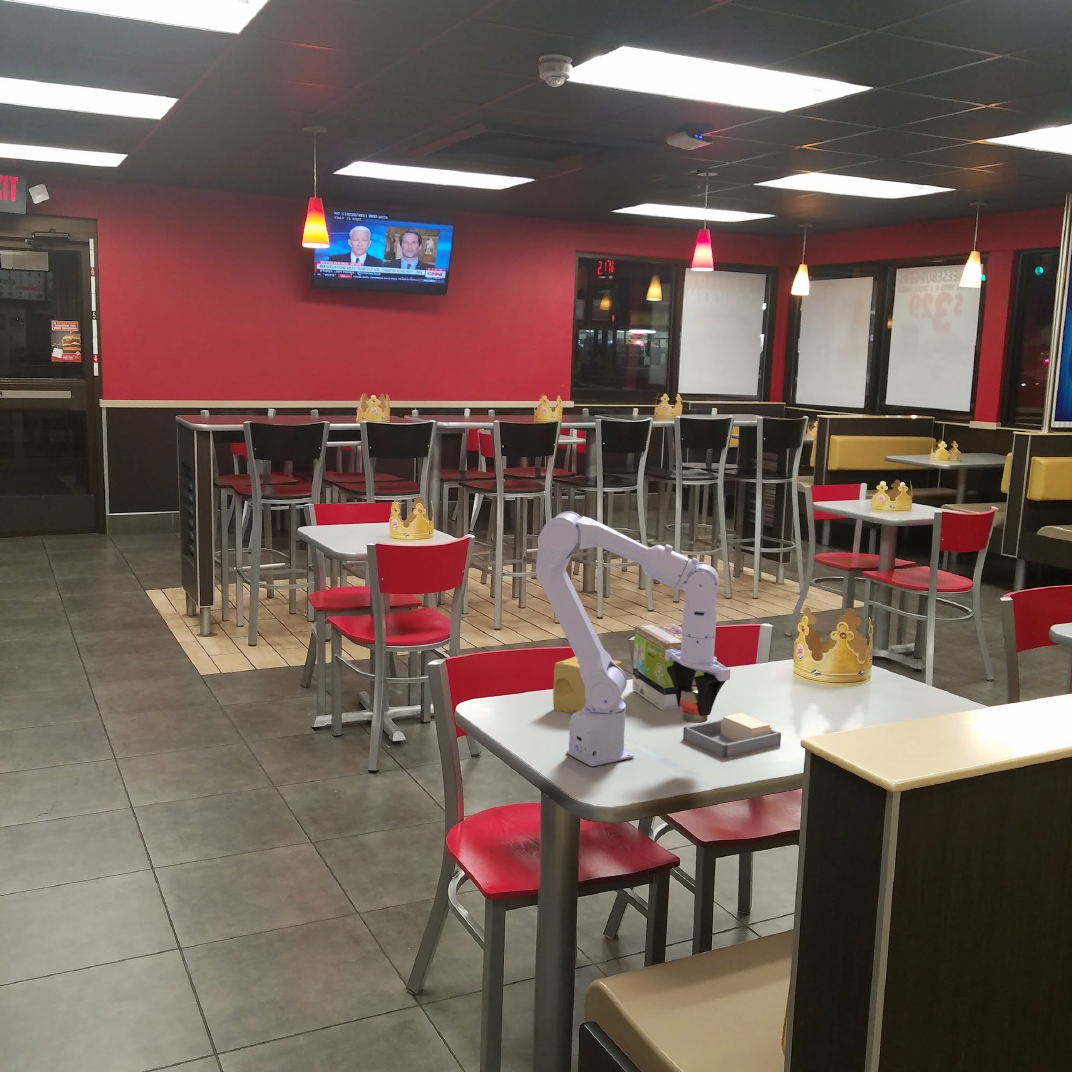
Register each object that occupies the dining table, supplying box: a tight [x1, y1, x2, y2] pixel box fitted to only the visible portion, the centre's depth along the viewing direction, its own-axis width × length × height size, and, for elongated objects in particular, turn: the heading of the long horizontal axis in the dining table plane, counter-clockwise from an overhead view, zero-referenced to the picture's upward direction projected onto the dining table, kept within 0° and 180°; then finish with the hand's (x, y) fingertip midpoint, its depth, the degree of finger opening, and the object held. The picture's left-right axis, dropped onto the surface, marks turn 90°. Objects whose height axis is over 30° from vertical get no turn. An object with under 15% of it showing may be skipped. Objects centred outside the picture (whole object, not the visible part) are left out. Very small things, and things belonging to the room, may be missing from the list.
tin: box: [679, 687, 709, 724], centre depth 182 cm, size 5×5×5 cm
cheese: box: [552, 656, 624, 714], centre depth 212 cm, size 10×11×10 cm
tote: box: [682, 719, 782, 759], centre depth 193 cm, size 14×11×3 cm
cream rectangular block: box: [720, 712, 772, 741], centre depth 195 cm, size 5×8×4 cm, turn 33°
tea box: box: [632, 622, 704, 712], centre depth 219 cm, size 15×10×15 cm
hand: (693, 710), depth 182 cm, fingers closed on tin, 5 cm apart
